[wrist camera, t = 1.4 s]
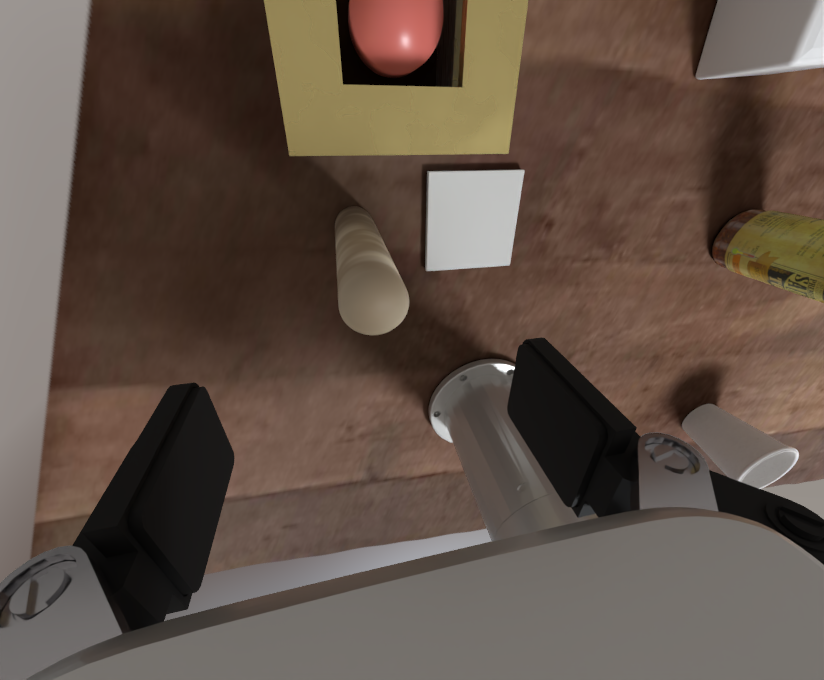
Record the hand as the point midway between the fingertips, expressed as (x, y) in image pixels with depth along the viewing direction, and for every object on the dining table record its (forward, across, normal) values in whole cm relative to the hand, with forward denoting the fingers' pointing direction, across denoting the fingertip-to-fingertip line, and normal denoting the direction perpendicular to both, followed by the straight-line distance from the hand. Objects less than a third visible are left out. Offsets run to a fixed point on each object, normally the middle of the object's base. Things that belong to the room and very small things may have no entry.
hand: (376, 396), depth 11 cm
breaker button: (+19, -4, -12) cm, 22 cm away
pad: (+21, -11, 0) cm, 23 cm away
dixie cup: (+20, -50, +32) cm, 63 cm away
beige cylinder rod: (+21, -1, 0) cm, 21 cm away
